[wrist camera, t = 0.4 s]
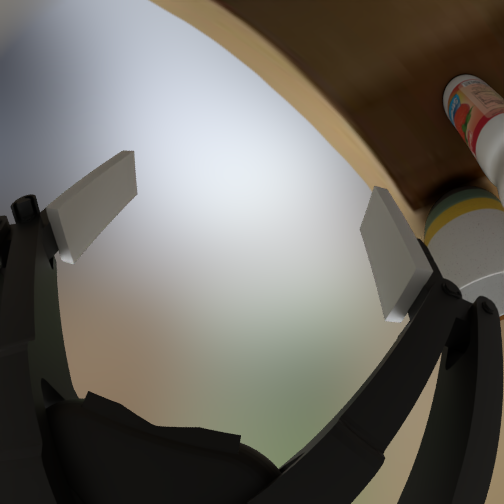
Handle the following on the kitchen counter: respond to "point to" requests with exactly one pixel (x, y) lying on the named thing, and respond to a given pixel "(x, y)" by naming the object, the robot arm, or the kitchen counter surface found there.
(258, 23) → the kitchen counter surface
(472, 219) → the planter
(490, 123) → the fruit juice
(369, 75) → the kitchen counter surface
